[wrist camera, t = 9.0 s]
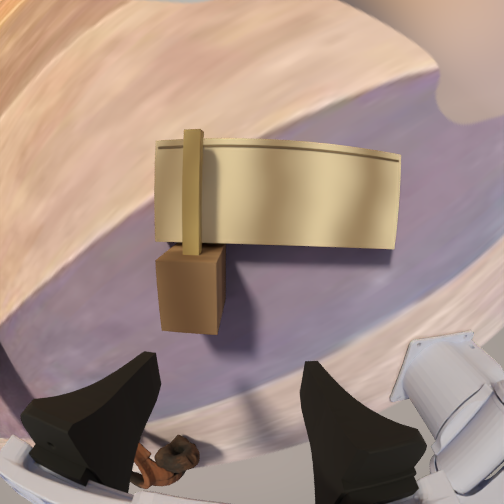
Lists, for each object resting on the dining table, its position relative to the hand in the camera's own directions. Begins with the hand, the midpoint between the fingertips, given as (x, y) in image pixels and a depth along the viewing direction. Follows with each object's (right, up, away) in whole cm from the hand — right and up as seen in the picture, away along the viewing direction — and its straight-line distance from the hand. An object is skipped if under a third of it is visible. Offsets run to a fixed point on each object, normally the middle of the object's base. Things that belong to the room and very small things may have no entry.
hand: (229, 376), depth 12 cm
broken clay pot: (-9, -16, +14) cm, 23 cm away
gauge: (-2, +8, +8) cm, 12 cm away
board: (+3, +10, +7) cm, 13 cm away
